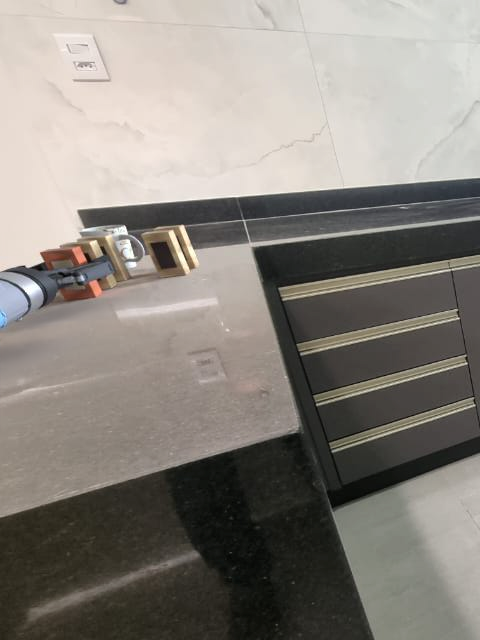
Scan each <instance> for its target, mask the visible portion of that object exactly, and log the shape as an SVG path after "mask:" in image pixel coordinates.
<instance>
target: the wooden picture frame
mask: <svg viewBox="0 0 480 640" xmlns="http://www.w3.org/2000/svg"><path fill="white" fill-rule="evenodd" d="M140 236H141V238H142V240H143V243H144V245H145V247H146V249H147V251H148V254H149V256H150V259H151V261H152V264H153V265H154V268H155V270H156V272H157V274H158V277H159V278H160V279H163V278H164V279H165V278H171V277H172V278H173V277H179V276H180V277H181V276H187V275H189V274H190V273H191V270H190V269H197V268H198V267H200V262H199V260H198V258H197V255H196V253H195V251H194V247H193V245H192V243H191V240H190V238H189V236H188V233H187V231H186V228H185V225H184V224H177V225H167V226H158V227H155V228H153V231H146V232H143V233H141V234H140Z"/></svg>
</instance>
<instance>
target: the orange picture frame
mask: <svg viewBox="0 0 480 640" xmlns="http://www.w3.org/2000/svg"><path fill="white" fill-rule="evenodd" d="M39 255H40V256H41V258H42V260H43V262H45V264H46V266H47V268H48V269H49V271H50V270H53V269H60V268H64V269H69V268H73V267H76V266H80V265H84V264H88V262H87V260H86V258H85V256H84V254H83V252H82V250H81V248H80V246H77V247H67V248H60V247H57V248H48V249H45V250H42V251H40V252H39ZM55 274H58V273H55ZM59 292H60V294H61V296H62V298H63V300H64V301H65V302H70V301H77V300H85V299H93V298H94V299H95V298H97V297H99V296H101V295H102V294H103V293H104V292H103V289H102V290H101V288H100V286H99V284H98V282H97V280H94V281H91V282H89V283H88V284H86V285H84V286H78V285H77V284H76V283H75V282H74V283H73V285H72V286H69V287H66V288H62V289H60V291H59Z"/></svg>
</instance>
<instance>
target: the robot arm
mask: <svg viewBox="0 0 480 640" xmlns="http://www.w3.org/2000/svg"><path fill="white" fill-rule="evenodd" d="M89 262H90V263H88V264H84V265H80V266H76V267H73V268H69V269H64V268H60V269H53V270H50V271H49V269H48V268H47V266H46V264H45V262H44V261H43V262H40V263H38V264H37V263H36V264H35V265H33V266H30V267H27V265H18V266H17V265H16V266H14V267H10V268H7V269H4V270H2V271H0V331H2V330H3V328H5V327H7V326H9V325H11V324H12V323H14V322H22V321H23V318H24V317H25V316H26V317H27V315H30V314H32V313H33V312H36V311H38V310H41V309H42V308H44V307H46V306H48V305H50V304H51V303H52V302H53V301H54V300H55V298H56V296H57V292H60V289H62V288H66V287H69V286H72V285H73V283H74V282H75V283H76V284H77V285H78V286H84V285H86V284H88V283H89V282H91V281H94V280H97V279H99V278H102V277H107V275H110V274H113V273H115V271H114V269H113V267H115V266H114V264H113V262H112V260H111V258H110V256H109V254H107V255H103V256H100V257H98V258H96V259H94V260H91V261H89ZM55 273H58V274H55Z"/></svg>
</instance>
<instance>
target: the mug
mask: <svg viewBox="0 0 480 640" xmlns="http://www.w3.org/2000/svg"><path fill="white" fill-rule="evenodd" d="M78 233H79V235H80V236H81V238H82V237H88V236H98V235H109V234H111V235H112V237H113V239H114V241H115V243H116V246H117V248H118V250H119V252H120V254H121V256H122V259H123V261H124V263H125V265H126V267H127V269H128V270H129V269H130V270H131V269H134V268H136V267H137V262H140V261H142V259H144V257H145V249H144V246H143V244H142V243H141V242H140V241H139V239H137V238H136V237H135V236H133V235H131V234H129V233H128V230H127V227H126V224H111V225H102V226H94V227H89V228H88V227H87V228H83V229H80V230H79V231H78ZM131 242H132V243H133V244H134V245H135V246H136V247H137V250H138V252H137V253H138V254H137V256H136V257H135V255H134V252H133V247H132V244H131Z"/></svg>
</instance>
